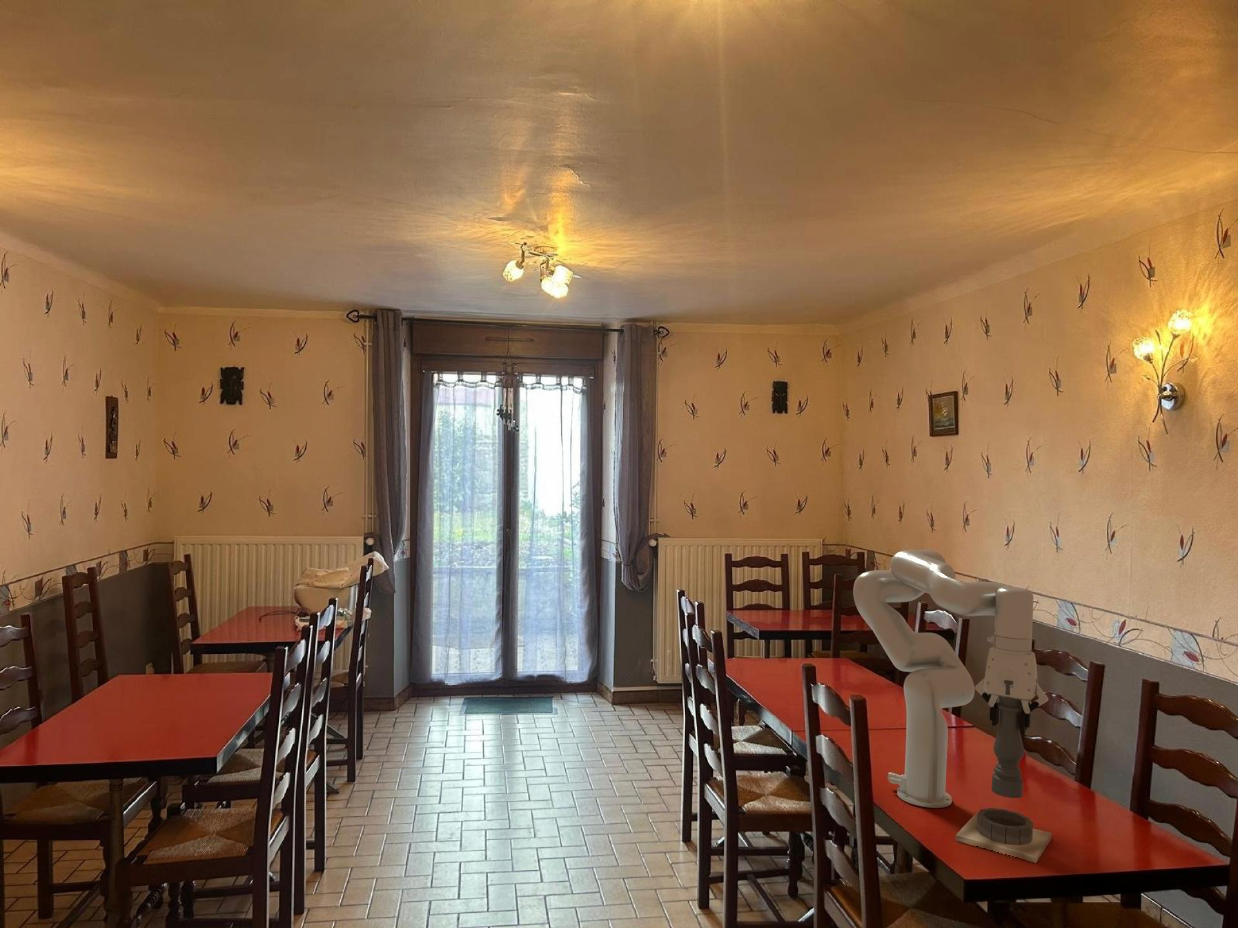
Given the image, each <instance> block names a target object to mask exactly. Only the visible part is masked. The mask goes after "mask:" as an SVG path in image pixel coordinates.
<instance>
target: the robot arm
mask: <svg viewBox="0 0 1238 928" xmlns="http://www.w3.org/2000/svg"><path fill="white" fill-rule="evenodd" d="M852 591H853V592H852V593H853V594H852V595H853V601H854V605H855V607H856V609H857V611H858V612H859V614H860V616H861V617H862V619H863V620H864V621H865V623H866V624H867V625H868V627H869V629H871V630H872V631H873V633H874V635H875V637H876V638H877V641H878V642H879V644H880V645H881V647H882V648H883V650H884V652H885V654H886V655H887V656H888V658H889V660H890V661H891V662H892V665H893V666H894V667H895V668H896V669H898V670H899V671H901V672H905V673H906V672H908V673H909V674H908V675H907V676H906V677H905V679H904V681H903V694H904V700H905V707H906V730H905V732H906V734H905V736H906V737H905V757H904V758H905V759H904V760H905V761H904V774H903V773H902V774H901V775H900V774H897V773H895V772H890V771H889V772H888V774H887V780H888V782H889V783H890V784H893V785H898V788H897V789H896V794H897V796H898V798H900V799H901V800H902V801H904V802H906V803H907V804H911V805H914V806H918V807H924V808H930V809H942V808H946V807H947V808H948V807H949V806H950V805H951V804H952V800H953V798H952V796H951V795H950V794H949V793H948V792H946V785H947V784H946V783H947V781H946V779H947V761H948V760H947V759H948V758H947V757H948V735H949V733H948V724H947V721H946V719H945V717H944V715H943V712H942V709H946V708H955V707H960V706H965V705H967V704H969V703H971V702H972V700H973V699H974V697H975V691H976V692H977V693H978V694H979V695H980V696H982V698H983V700H984V701H985V702H986V703H987V705H988V706H989V721H991V725H992V726H993V727H995V726H996V727H997V725H998V724H1000V709H999V708H998V707H997V704H998V703H999V702H998V701H999V700H1000V698H999V696H1001V697H1009V698H1013V699H1018V700H1021V706H1022V707H1023V711H1022V712H1021V713H1020V732H1023V733H1024V732H1025V733H1026V731H1027V730H1028V729H1030V727H1031V713H1032V712H1033V711H1034V710H1036V709H1037V708H1038V707H1041V706H1042V705H1044V704H1045V703H1047V702H1048V701H1049V697H1048V695H1046V692H1044V691H1043V689H1042V688H1041V686H1040V685H1039V684H1038V669H1037V668H1038V667H1037V659H1036V655H1035V652H1034V651H1032V650H1033V649H1032V646H1033V645H1032V643H1033V623H1034V622H1033V621H1034V620H1033V619H1034V615H1033V614H1034V594H1033V592H1032V591H1031V590H1029V589H1027V588H1024V587H1018V586H1017V587H1016V586H1010V585H1007V584H1005V583H1002V582H997V581H972V582H971V581H970V582H968V581H967V582H965V581H961V580H958V579H956V573H955V570H954V568H953V567H952V565H950V564H949V563H947V561H946V558H945V557H944V556H943V555H942V554H941V553H940V552H938V551H936V550H932V549H906V550H905V549H904V550H901V551H899V552H896V553H895V554H894V555H893V556H892V557H891V559H890V561H889V569H880V570H879V569H878V570H876V569H875V570H869V571H866V572H862V573H860V574H859V575H858V576H857V577H856V579H855V580H854V584H853V590H852ZM925 593H926V594H929V596H930V598H931V599H932V601H933V603H935V605H937V606H938V607H940V608H943V609H945V610H947V611H949V612H951V613H954V614H957V615H960V616H964V617H978V616H979V617H980V616H994V630H993V631H994V632H993V635H987V636H986V642H989V643H991V644H992V647H990V648H989V650H988V654H987V659H986V664H985V665H986V666H985V671H984V672H985V673H984V677H983V678H982V679H981V680H980V681H979V682H977V684H976V685H975V683H974V681H973V678H972V676H971V675H970V673H969V671H968V670H967V667H966V666H965V665H964V664H963V662H962V660H961V659H960V657H959V655H957V653H956V652H955V651H954V649H953V647H952V646H951V644H950V643H949V642H948V641H947V639H946V638H944V637H942V636H941V635H939V634H937V633H934V632H916V631H914V630H913V629H912V628H911V627H910V625H909V624H908V623H907V621H906V619H905V618H904V617H903V616H902V614H901V613H900V612H899V611H897V610H896V609H895V608H894V607H892V606H890V605H889V604H888V603H907V602H912V601H915V600H917V599H918V598H919V597H922V596H923V595H924V594H925ZM1004 680H1010V681H1013V685H1010V687H1011V686H1013V687H1011V688H1010V695H1005V692H1006V687H1005V686H1006V684H1005V683H1004ZM1004 685H1005V686H1004ZM1036 696H1037V697H1038V698H1037V699H1036V700H1034V701H1033V702H1032V701H1031V700H1032V699H1034V698H1035V697H1036Z"/></svg>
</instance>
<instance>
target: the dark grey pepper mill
mask: <svg viewBox="0 0 1238 928" xmlns="http://www.w3.org/2000/svg"><path fill="white" fill-rule="evenodd" d="M1004 683H1005V684H1006V686H1005V685H1004V686H1005V687H1006V692H1005V695H1010V688H1011V687H1013V686H1011V687H1010V685H1013V681H1010V680H1004ZM999 700H1000V702H997V703H998V704H997V707H998V708H999V726H998V729H997V730H998V731H997V733H996V736H995V740H994V743H993V747H992V748H993V753H994V755H995V756H996V761H997V762H996V765H995V766H993V772H994V773H993V772H992V776H991V792H992V793H994V794H995V795H997V796H1001V797H1003V798H1009V799H1019V798H1022V797H1023V793H1024V792H1023V787H1024V786H1023V785H1024V780H1023V778H1022V775H1023V772H1022V770H1021V768H1020V767H1019V766H1018V765H1020V761H1021V760H1022V759H1023V757H1024V755H1025V754H1024V753H1025V749H1024V744H1023V740H1022V734H1021V728H1020V717H1021V713H1022V712H1023V706H1022V702H1021V700H1018V699H1013V698H1009V697H1001V696H999Z"/></svg>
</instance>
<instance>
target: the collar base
mask: <svg viewBox="0 0 1238 928" xmlns="http://www.w3.org/2000/svg"><path fill="white" fill-rule="evenodd" d="M1052 834H1053V833H1052V832H1049V831H1044V830H1041V829H1037V828H1034V822H1033V821H1032V820H1031V819H1030V818H1029V817H1028V816H1026V815H1023V814H1022V813H1019V812H1017V811H1013V810H1009V809H1004V808H994V807H988V808H981V809H980V810H979V811H977V813H974V814H973V816H971V818H970V819H969V820H968V821H967V822H966V823H965V824H964V825H963V827H962V828H961V829H959V831H958V832H957V833H956V834H955V841H956V842H959V843H962V844H966V845H969V846H974V847H976V846H979V847H978V848H980V847H981V848H980V849H983V848H986V849H985V850H987V849H988V851H990V850H993V851H992V852H994V851H995V852H996V853H997V852H999V853H998V854H1001V853H1002V855H1005V854H1007V855H1006V856H1008V855H1011V856H1010V857H1012V856H1014V857H1013V858H1015V857H1019V858H1021V859H1020V860H1022V859H1025V860H1024V861H1026V860H1027V861H1026V862H1029V861H1030V862H1029V863H1033V862H1034V863H1033V864H1037V863H1038V861H1039V860H1040V858H1041V856H1042V855H1043V853H1044V851H1045V850H1046V848H1047V847H1046V846H1048V845H1049V843H1050V842H1051V840H1052ZM995 852H994V853H995ZM1039 857H1040V858H1039ZM1019 858H1018V859H1019ZM1038 859H1039V860H1038ZM1036 862H1037V863H1036Z"/></svg>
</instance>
